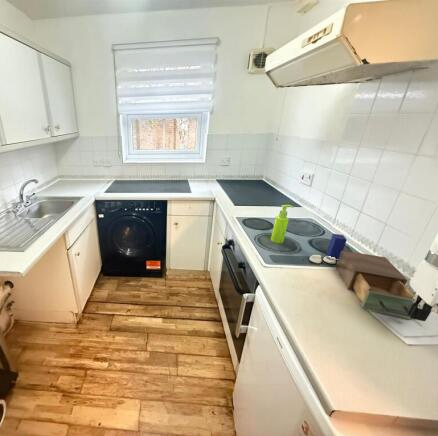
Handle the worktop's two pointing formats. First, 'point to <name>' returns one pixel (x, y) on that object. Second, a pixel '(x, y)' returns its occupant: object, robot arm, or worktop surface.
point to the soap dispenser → (280, 225)
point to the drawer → (383, 295)
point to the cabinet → (365, 267)
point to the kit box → (336, 245)
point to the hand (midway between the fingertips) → (415, 317)
